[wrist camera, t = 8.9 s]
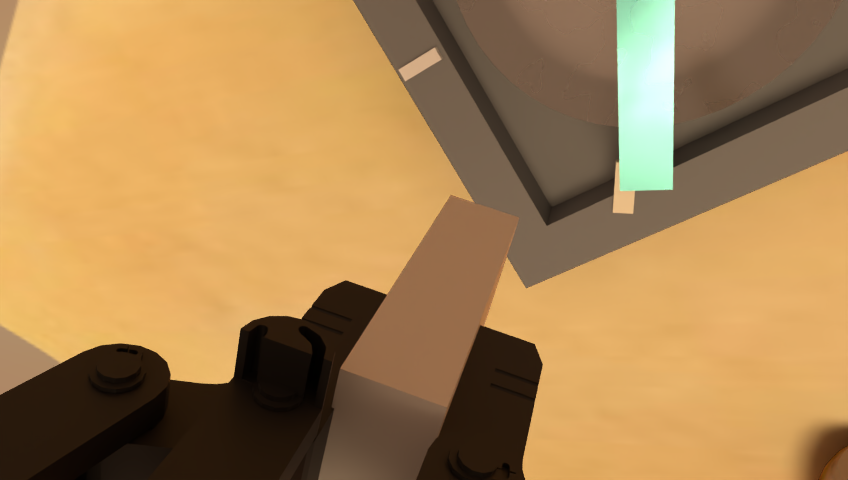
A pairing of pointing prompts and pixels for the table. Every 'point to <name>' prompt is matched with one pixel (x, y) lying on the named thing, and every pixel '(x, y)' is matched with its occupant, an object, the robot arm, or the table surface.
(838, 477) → the beige spotted tapered lump
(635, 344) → the table surface
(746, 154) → the housing
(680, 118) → the dial
